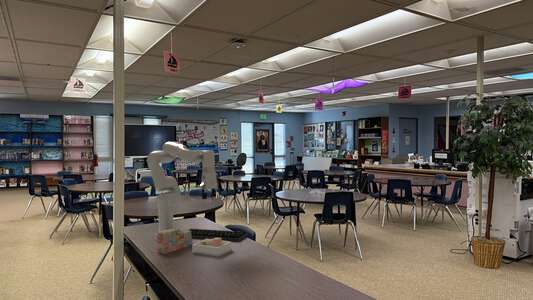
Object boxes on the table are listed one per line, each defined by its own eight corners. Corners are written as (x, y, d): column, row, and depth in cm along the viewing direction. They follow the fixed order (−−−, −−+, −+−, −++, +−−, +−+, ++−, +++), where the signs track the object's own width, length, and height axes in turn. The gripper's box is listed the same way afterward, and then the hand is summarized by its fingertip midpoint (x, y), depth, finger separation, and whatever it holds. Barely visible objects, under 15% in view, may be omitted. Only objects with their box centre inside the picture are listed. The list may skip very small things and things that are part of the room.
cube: (200, 249, 216) (200, 241, 216) (205, 247, 220) (205, 239, 220) (207, 250, 214) (207, 242, 213) (212, 248, 218) (212, 240, 218)
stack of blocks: (185, 244, 233) (184, 224, 233) (192, 245, 230) (191, 226, 229) (157, 252, 216) (156, 231, 216) (164, 254, 212) (163, 233, 212)
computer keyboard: (247, 236, 250) (247, 231, 250) (238, 242, 235) (238, 237, 235) (190, 233, 264) (190, 227, 264) (178, 238, 249) (178, 232, 249)
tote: (192, 252, 213) (192, 244, 213) (206, 246, 226) (206, 238, 225) (217, 256, 205) (217, 247, 205) (231, 250, 217) (231, 241, 217)
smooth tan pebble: (211, 251, 212) (211, 239, 212) (216, 249, 217) (216, 237, 216) (218, 252, 210) (218, 240, 210) (223, 250, 214) (223, 238, 214)
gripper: (204, 171, 215) (205, 200, 216) (221, 169, 231) (222, 196, 231) (194, 171, 219) (195, 199, 219) (212, 169, 234) (212, 195, 234)
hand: (209, 197), depth 225 cm, fingers open, 9 cm apart
